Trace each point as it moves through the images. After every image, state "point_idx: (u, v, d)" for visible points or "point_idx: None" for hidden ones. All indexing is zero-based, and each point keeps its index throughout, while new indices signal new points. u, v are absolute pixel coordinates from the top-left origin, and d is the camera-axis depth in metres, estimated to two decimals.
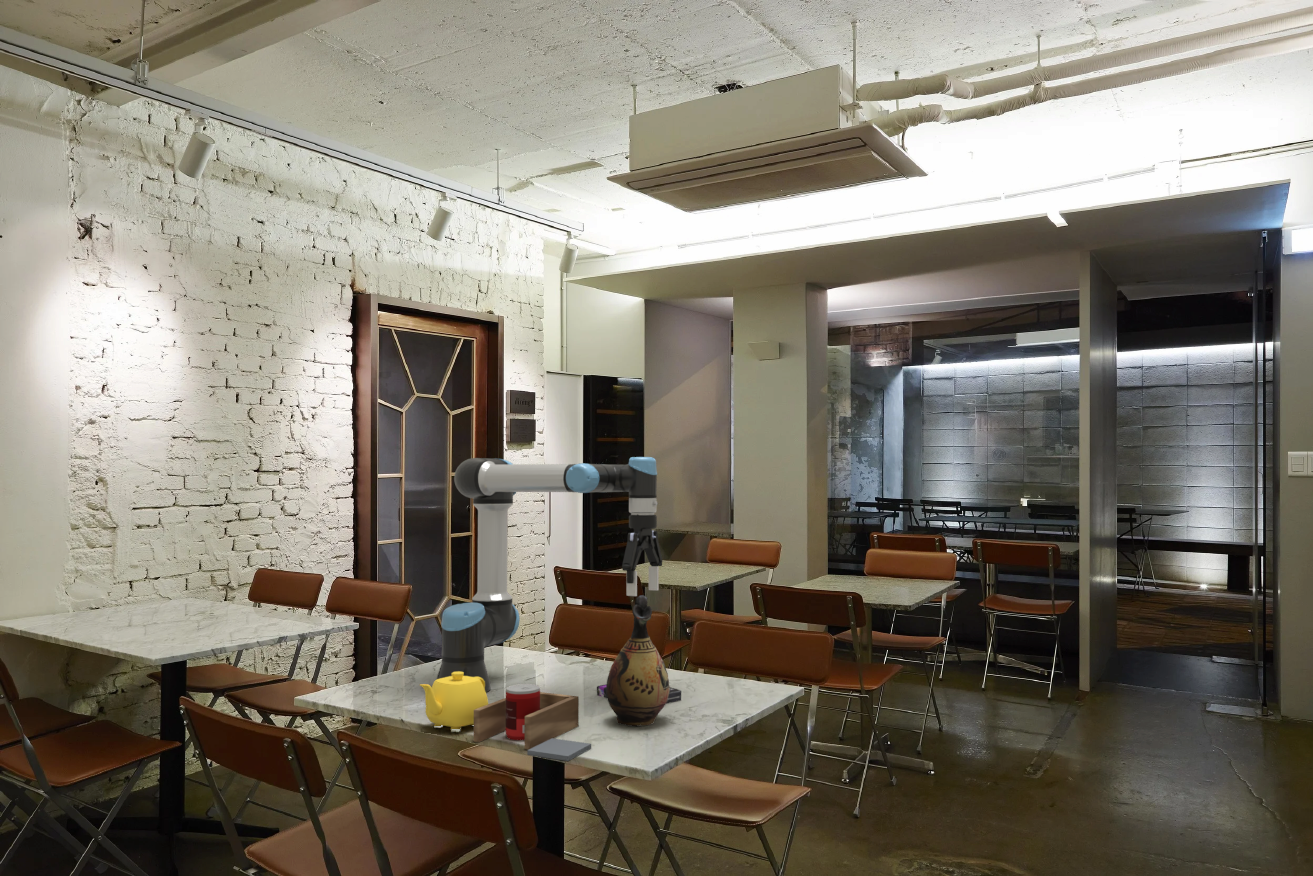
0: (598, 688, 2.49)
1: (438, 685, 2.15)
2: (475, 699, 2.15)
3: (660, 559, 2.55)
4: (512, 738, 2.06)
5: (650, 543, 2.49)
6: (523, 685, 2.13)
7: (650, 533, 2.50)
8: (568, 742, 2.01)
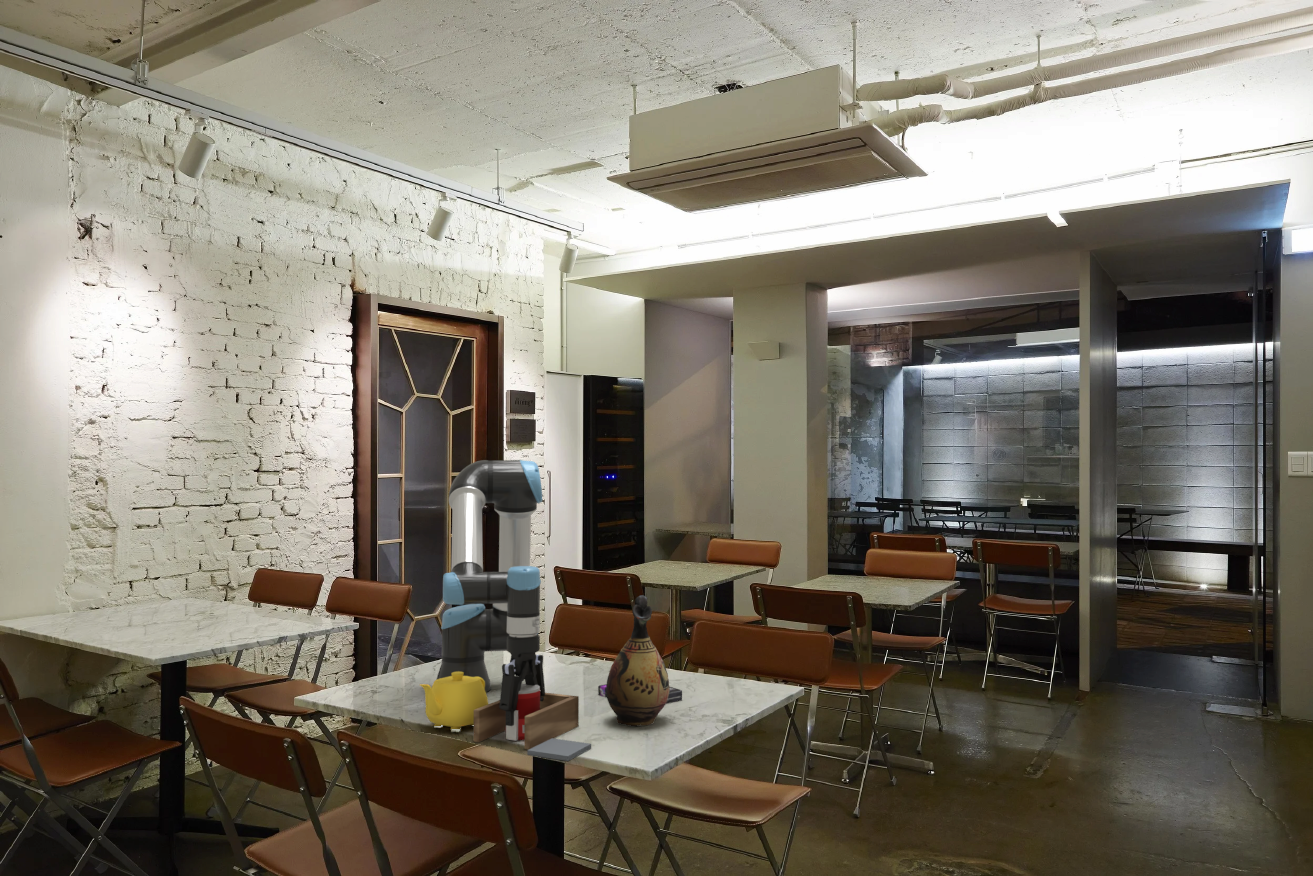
0: (599, 688, 2.49)
1: (438, 686, 2.15)
2: (475, 699, 2.15)
3: (542, 691, 2.16)
4: None
5: (531, 669, 2.11)
6: (523, 685, 2.13)
7: (533, 655, 2.12)
8: (568, 742, 2.01)
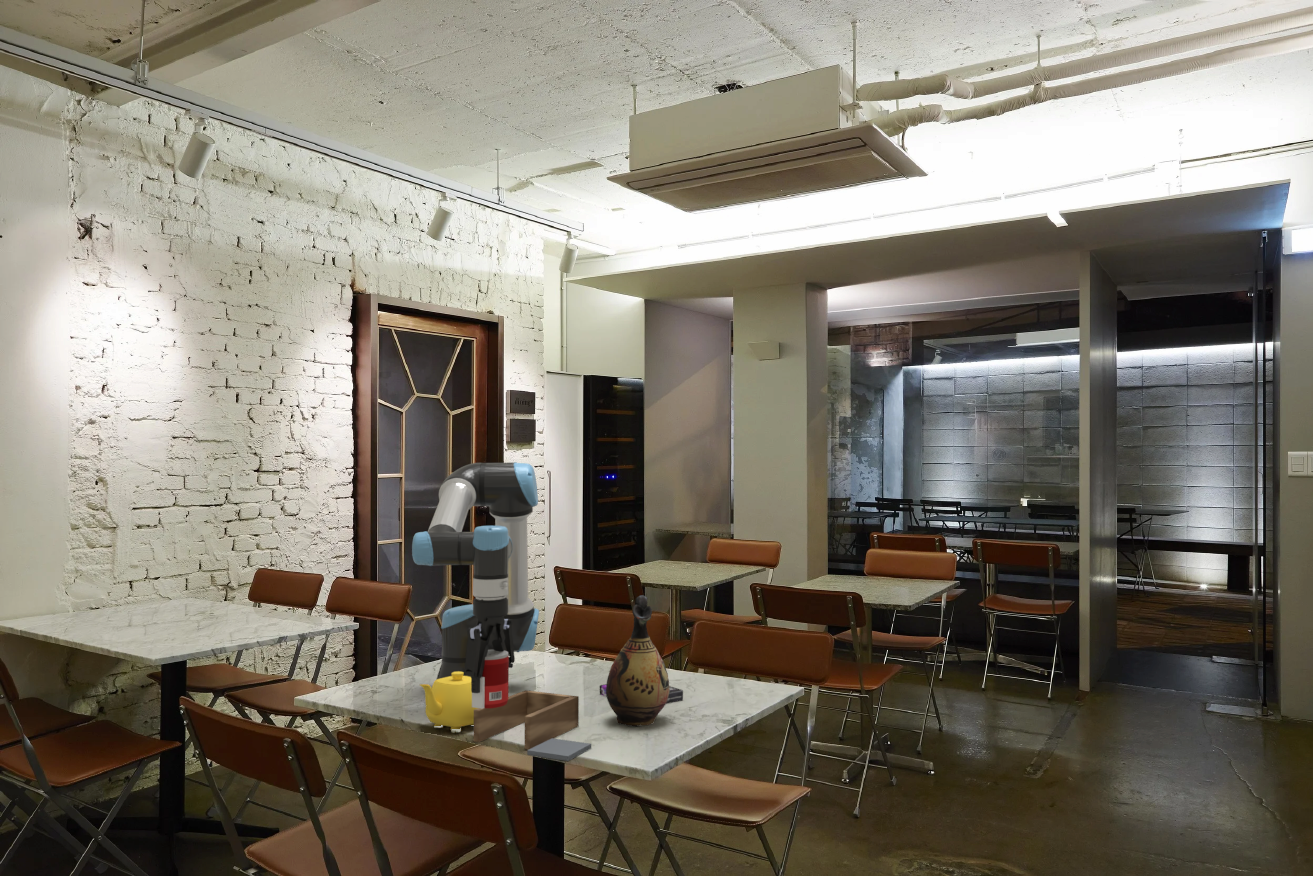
0: (601, 687, 2.50)
1: (438, 686, 2.15)
2: None
3: (511, 657, 2.05)
4: None
5: (499, 634, 2.00)
6: (491, 651, 2.02)
7: (501, 619, 2.01)
8: (568, 742, 2.01)
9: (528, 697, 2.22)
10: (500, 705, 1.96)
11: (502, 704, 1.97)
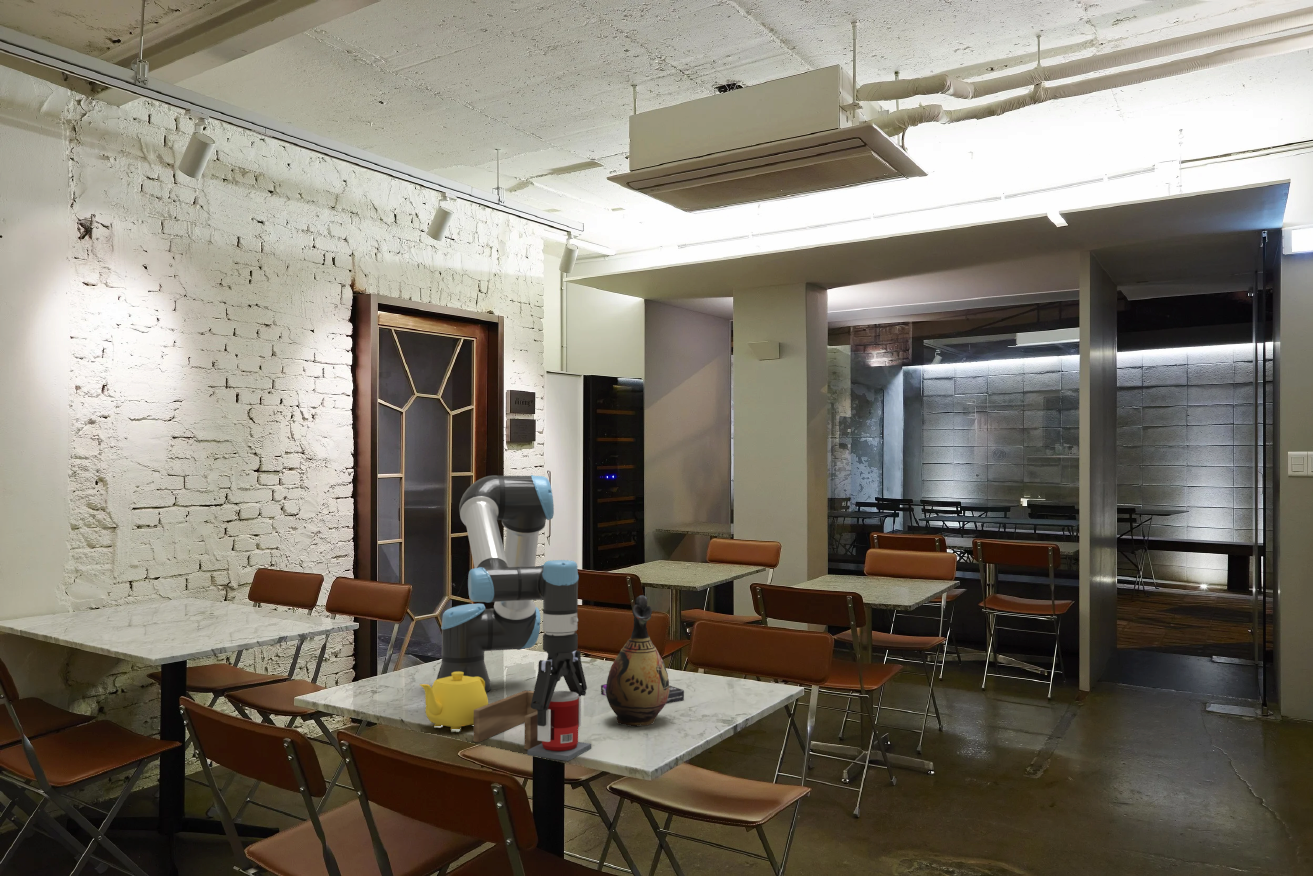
0: (602, 687, 2.50)
1: (438, 686, 2.15)
2: (475, 699, 2.15)
3: (584, 686, 2.05)
4: (549, 748, 1.94)
5: (569, 669, 1.99)
6: (560, 692, 2.01)
7: (570, 655, 2.00)
8: None
9: (528, 697, 2.22)
10: (571, 748, 1.95)
11: (573, 747, 1.96)
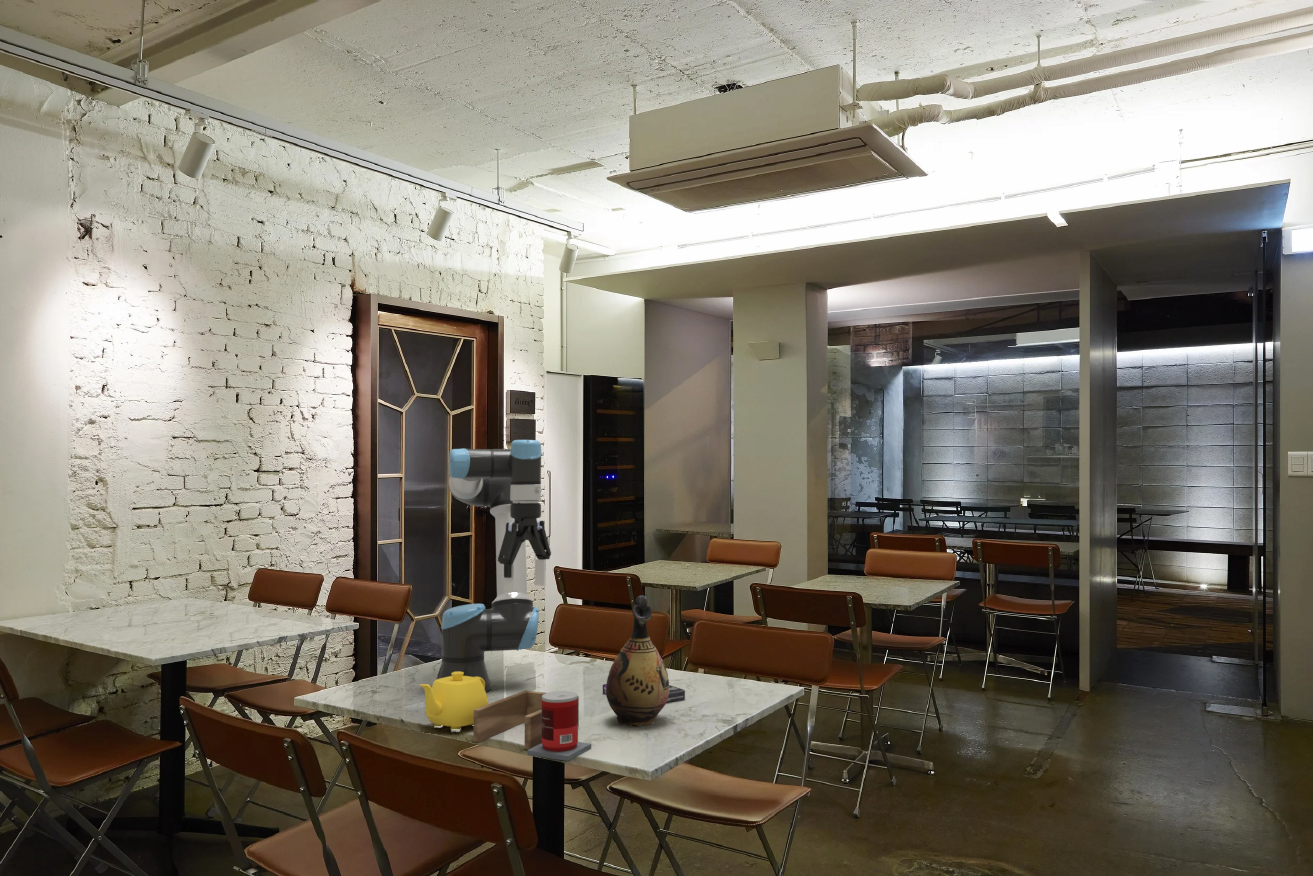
0: (604, 686, 2.51)
1: (438, 686, 2.15)
2: (475, 699, 2.15)
3: (548, 552, 2.34)
4: (549, 749, 1.94)
5: (534, 534, 2.28)
6: (559, 692, 2.01)
7: (534, 523, 2.29)
8: None
9: (528, 697, 2.22)
10: (570, 748, 1.95)
11: (572, 747, 1.96)
